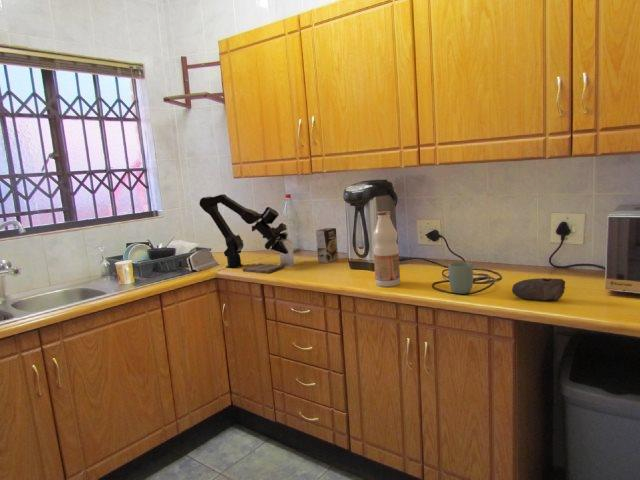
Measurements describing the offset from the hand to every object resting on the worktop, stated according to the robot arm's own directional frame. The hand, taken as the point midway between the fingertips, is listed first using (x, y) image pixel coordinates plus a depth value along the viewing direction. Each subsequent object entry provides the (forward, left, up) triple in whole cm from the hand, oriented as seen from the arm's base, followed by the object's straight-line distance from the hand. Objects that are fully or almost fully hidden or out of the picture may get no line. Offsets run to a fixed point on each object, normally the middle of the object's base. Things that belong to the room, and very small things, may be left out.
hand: (289, 252), depth 219 cm
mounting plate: (-8, -11, -7) cm, 15 cm away
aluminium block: (-1, 0, -7) cm, 7 cm away
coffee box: (+13, +14, -7) cm, 21 cm away
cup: (+90, -18, -7) cm, 92 cm away
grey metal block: (-45, -17, -7) cm, 49 cm away
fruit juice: (+61, -16, -7) cm, 64 cm away
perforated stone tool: (+114, -18, -7) cm, 116 cm away
